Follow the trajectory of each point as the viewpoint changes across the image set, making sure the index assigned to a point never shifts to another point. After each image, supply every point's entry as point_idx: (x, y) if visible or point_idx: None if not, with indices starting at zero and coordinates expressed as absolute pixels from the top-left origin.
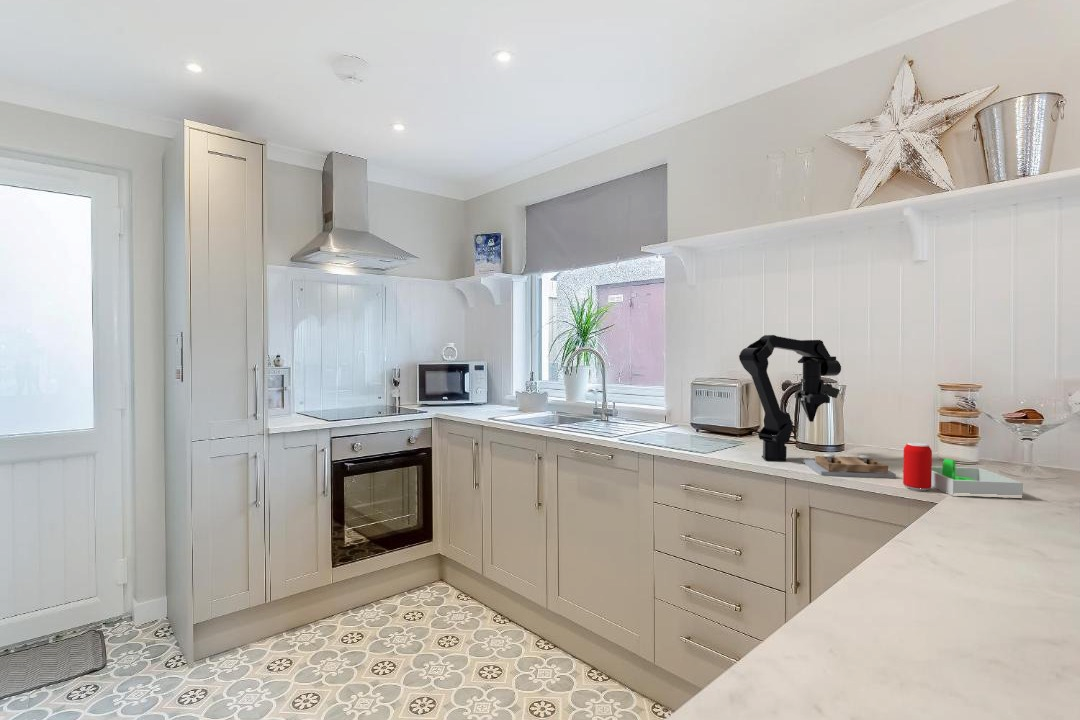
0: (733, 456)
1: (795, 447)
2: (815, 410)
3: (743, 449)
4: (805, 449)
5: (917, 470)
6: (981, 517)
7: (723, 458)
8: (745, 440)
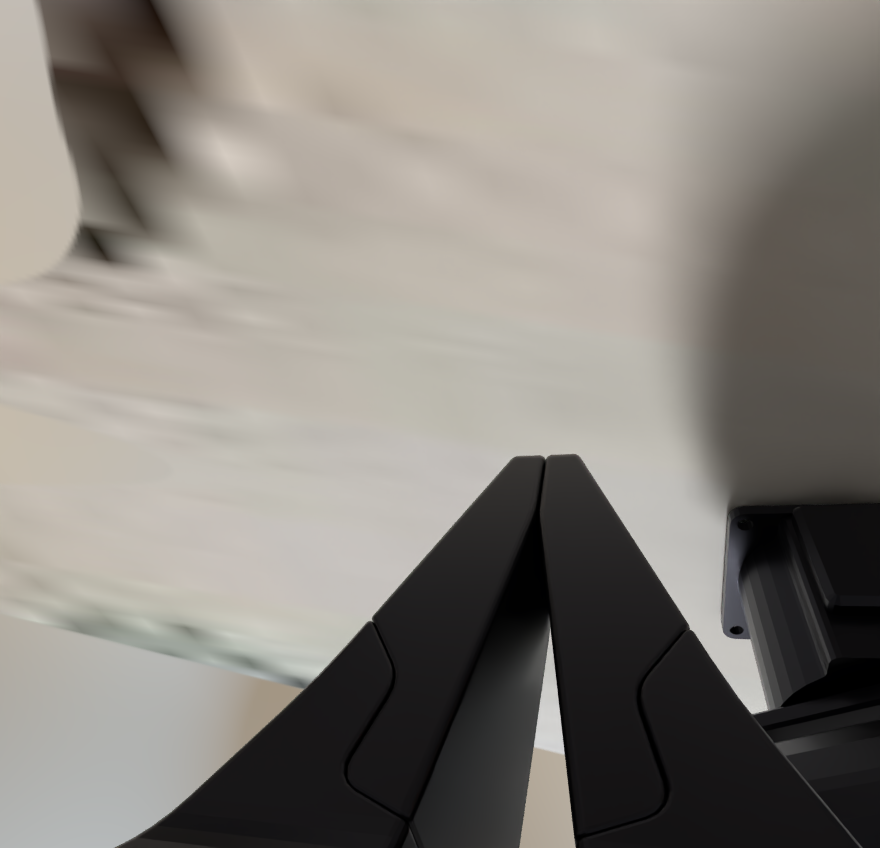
0: None
1: (78, 289)
2: (736, 741)
3: None
4: (137, 203)
5: None
6: None
7: None
8: (12, 590)
